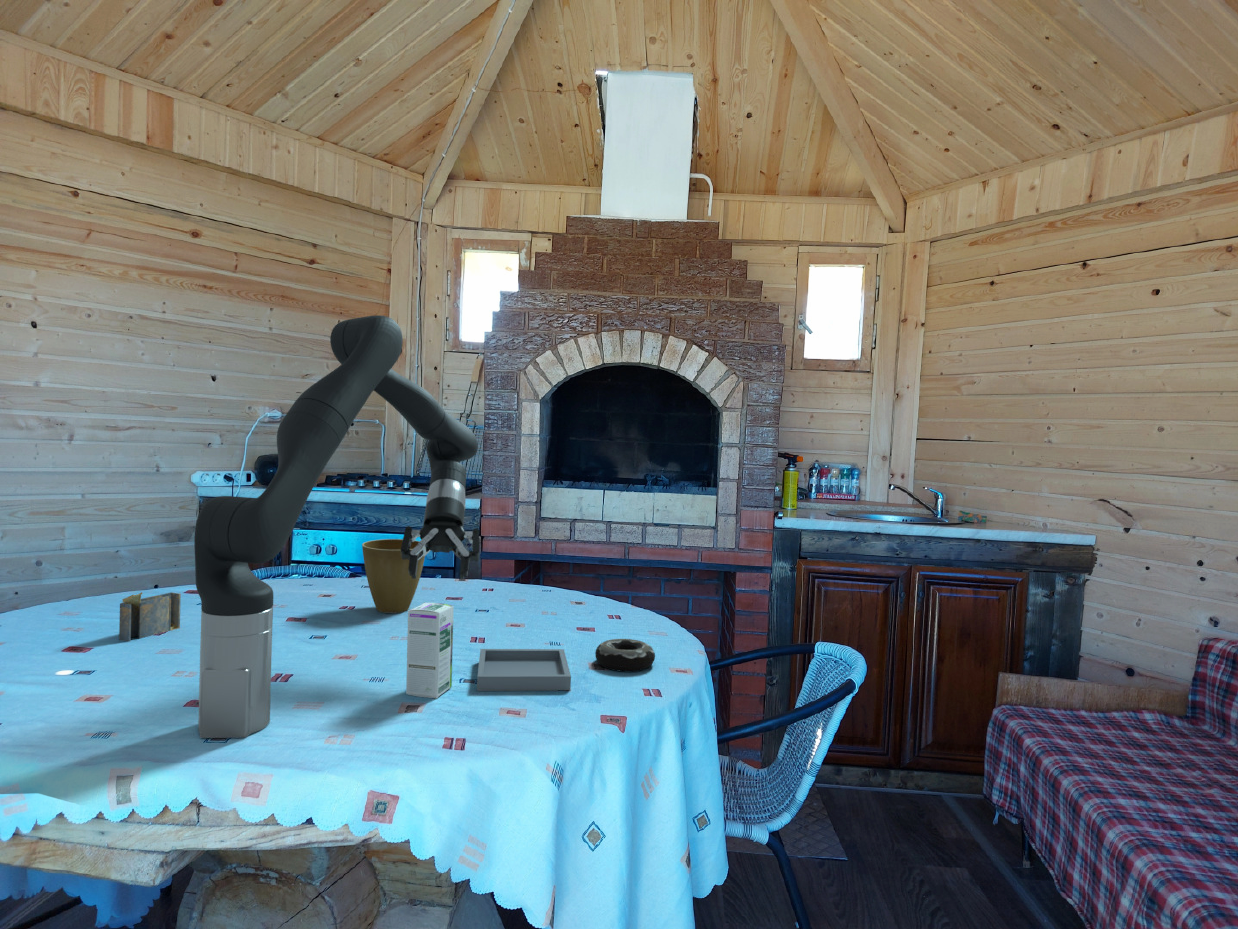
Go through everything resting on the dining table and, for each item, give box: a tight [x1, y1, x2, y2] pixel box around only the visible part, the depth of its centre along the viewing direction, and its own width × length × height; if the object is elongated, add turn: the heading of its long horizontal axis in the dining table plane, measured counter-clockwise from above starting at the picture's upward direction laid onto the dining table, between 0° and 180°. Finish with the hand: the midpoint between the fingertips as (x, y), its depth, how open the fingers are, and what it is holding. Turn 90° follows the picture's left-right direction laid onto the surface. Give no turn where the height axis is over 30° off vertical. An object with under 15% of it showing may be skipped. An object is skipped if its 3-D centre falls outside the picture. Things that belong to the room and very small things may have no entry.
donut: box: [595, 638, 656, 672], centre depth 146 cm, size 12×12×4 cm
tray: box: [476, 648, 572, 692], centre depth 136 cm, size 16×16×2 cm
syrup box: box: [405, 602, 454, 699], centre depth 125 cm, size 6×6×14 cm
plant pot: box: [361, 538, 426, 614], centre depth 178 cm, size 15×15×16 cm
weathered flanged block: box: [118, 591, 182, 642], centre depth 150 cm, size 11×3×10 cm, turn 162°
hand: (437, 576), depth 135 cm, fingers open, 8 cm apart
